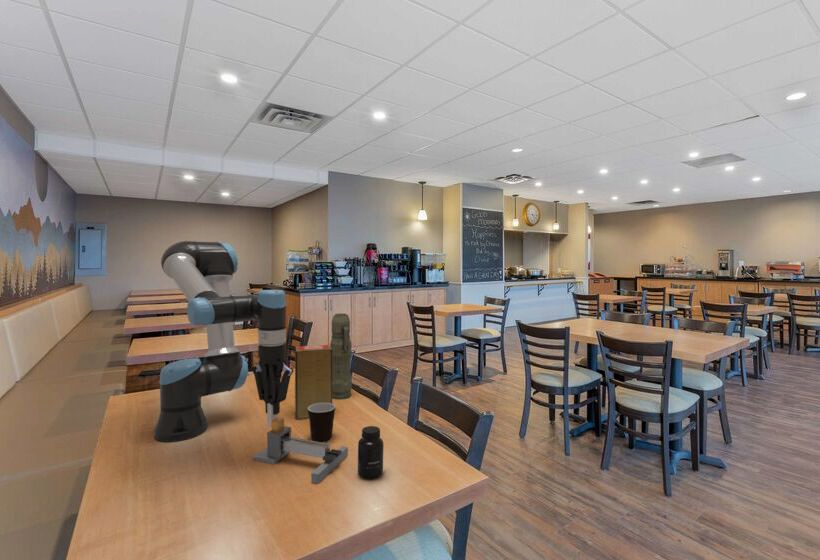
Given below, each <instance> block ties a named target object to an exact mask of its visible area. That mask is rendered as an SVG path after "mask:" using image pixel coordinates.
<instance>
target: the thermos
mask: <svg viewBox="0 0 820 560" xmlns="http://www.w3.org/2000/svg"><path fill="white" fill-rule="evenodd" d="M350 332H351V320H350V316H349V315H348V314H347V313H335V314H334V315H333V316H332V319H331V333H332V334H331V340H330V343H329V346H330V347H331V348H332V400H345V399H349V398H351V397H350V396H352V378H351V356H352V340H351V335H350Z"/></svg>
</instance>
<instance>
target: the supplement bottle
mask: <svg viewBox="0 0 820 560" xmlns="http://www.w3.org/2000/svg"><path fill="white" fill-rule="evenodd" d="M384 445H385V444H384V440H383V439H382V438H381V428H380V427H378V426H375V425H368V426H365V427H363V428H362V429H361V438H360V439H358V443H357V474H358V476H359V477H360V478H362V479H364V480H375V479H378V478H380V477H381V476H382V475H383V472H384Z"/></svg>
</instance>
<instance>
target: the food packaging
mask: <svg viewBox="0 0 820 560" xmlns="http://www.w3.org/2000/svg"><path fill="white" fill-rule="evenodd" d="M317 403H331V404H333V398H332V348H331V347H330V344H321V345H320V344H317V345H301V346H295V347H294V408H295V410H294V415H295V416H294V417H295V420H305V419H309V414H308V407H309V406H311V405H313V404H317Z"/></svg>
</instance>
